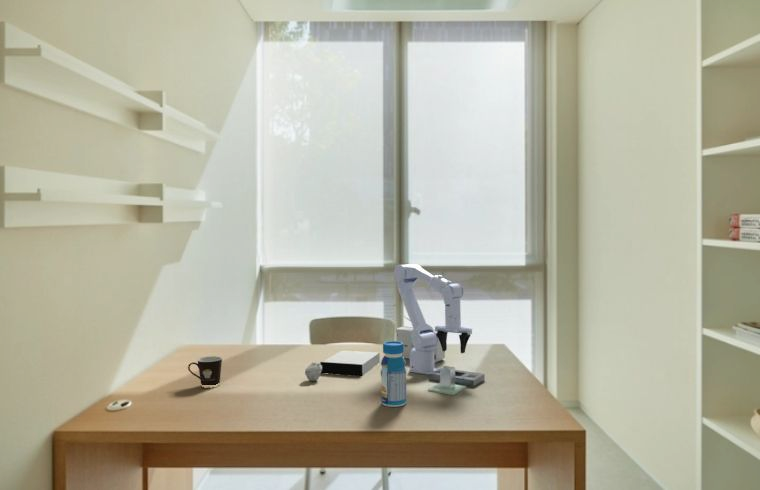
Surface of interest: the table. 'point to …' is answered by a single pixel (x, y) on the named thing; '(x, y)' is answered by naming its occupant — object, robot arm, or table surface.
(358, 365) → the disc drive
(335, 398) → the table surface
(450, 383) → the steel peg
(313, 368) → the frog figurine
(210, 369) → the coffee mug
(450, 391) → the rubber pad
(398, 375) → the beverage bottle
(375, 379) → the table surface
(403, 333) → the stereo radio cassette player
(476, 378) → the plate with square hole
